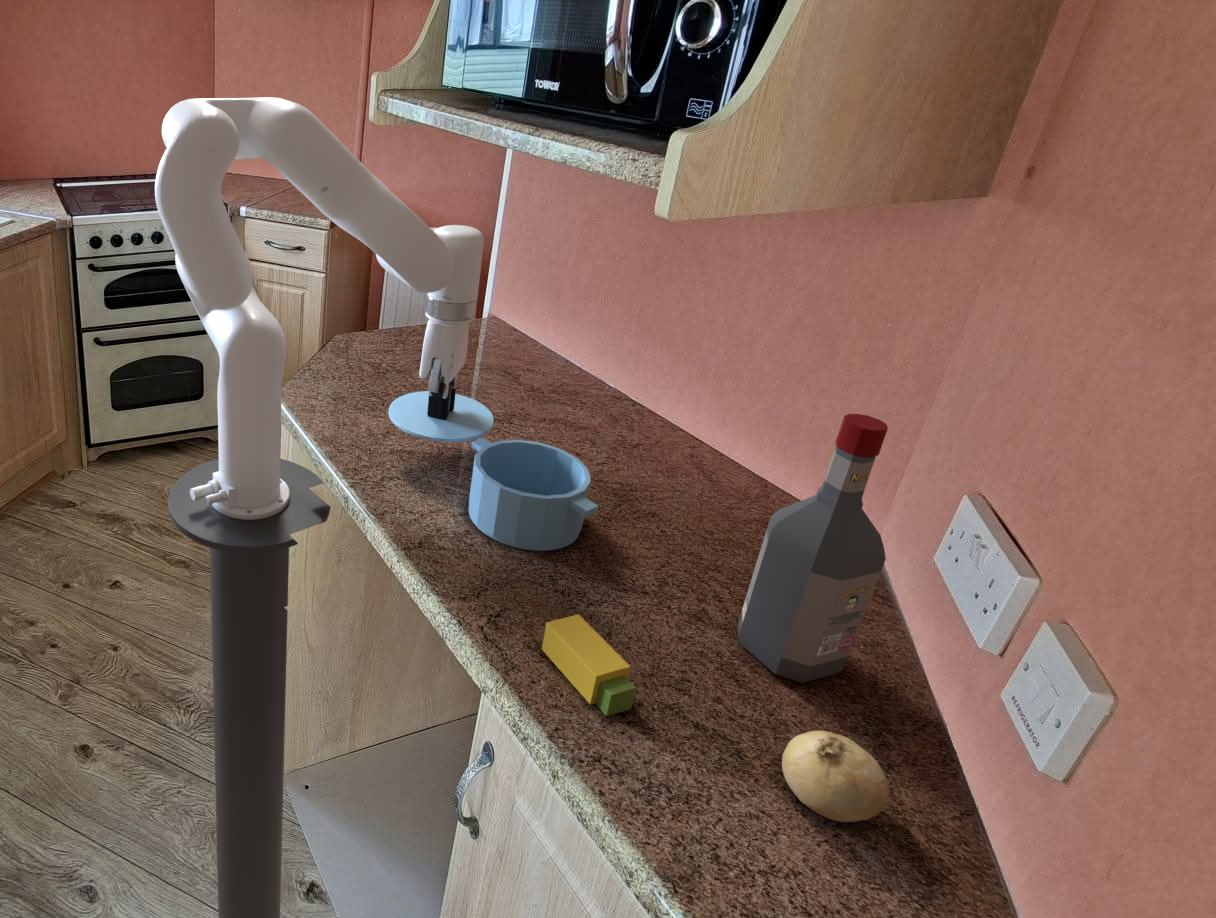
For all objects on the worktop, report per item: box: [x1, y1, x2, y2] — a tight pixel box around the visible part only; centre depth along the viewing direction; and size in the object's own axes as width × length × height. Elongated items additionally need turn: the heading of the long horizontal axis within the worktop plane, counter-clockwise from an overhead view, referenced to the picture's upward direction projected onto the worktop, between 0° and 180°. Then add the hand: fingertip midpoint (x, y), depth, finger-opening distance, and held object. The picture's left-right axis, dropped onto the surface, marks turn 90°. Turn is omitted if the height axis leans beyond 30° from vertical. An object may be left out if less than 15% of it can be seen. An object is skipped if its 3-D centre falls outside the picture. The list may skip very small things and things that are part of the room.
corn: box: [541, 613, 637, 717], centre depth 87 cm, size 10×4×4 cm, turn 18°
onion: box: [781, 730, 890, 824], centre depth 73 cm, size 8×8×7 cm
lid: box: [388, 382, 495, 443], centre depth 128 cm, size 17×17×7 cm
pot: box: [468, 437, 600, 552], centre depth 114 cm, size 16×21×8 cm
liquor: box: [737, 413, 889, 684], centre depth 85 cm, size 9×9×30 cm
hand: (440, 412), depth 129 cm, fingers closed on lid, 2 cm apart
